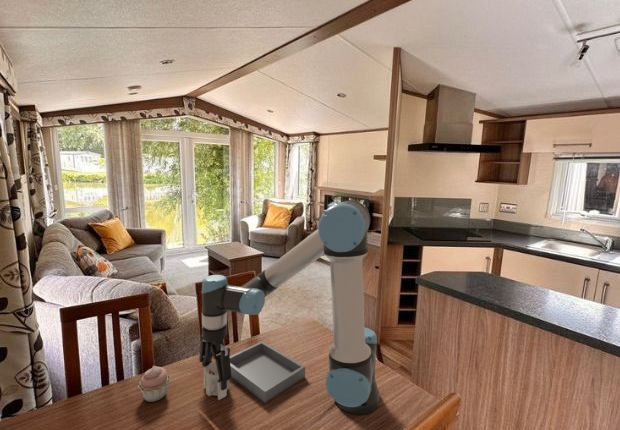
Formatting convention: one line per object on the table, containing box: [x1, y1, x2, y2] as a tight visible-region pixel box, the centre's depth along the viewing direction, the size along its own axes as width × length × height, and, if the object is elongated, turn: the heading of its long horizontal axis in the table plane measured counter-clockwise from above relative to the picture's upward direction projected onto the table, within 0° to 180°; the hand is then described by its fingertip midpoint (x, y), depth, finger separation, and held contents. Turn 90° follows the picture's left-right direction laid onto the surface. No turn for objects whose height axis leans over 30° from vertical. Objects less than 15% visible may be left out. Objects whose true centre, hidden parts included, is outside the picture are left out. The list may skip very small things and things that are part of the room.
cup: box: [205, 361, 230, 397], centre depth 101 cm, size 11×8×8 cm
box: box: [230, 341, 306, 404], centre depth 112 cm, size 24×18×4 cm
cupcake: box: [137, 365, 172, 403], centre depth 99 cm, size 9×9×10 cm
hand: (214, 390), depth 102 cm, fingers closed on cup, 8 cm apart
